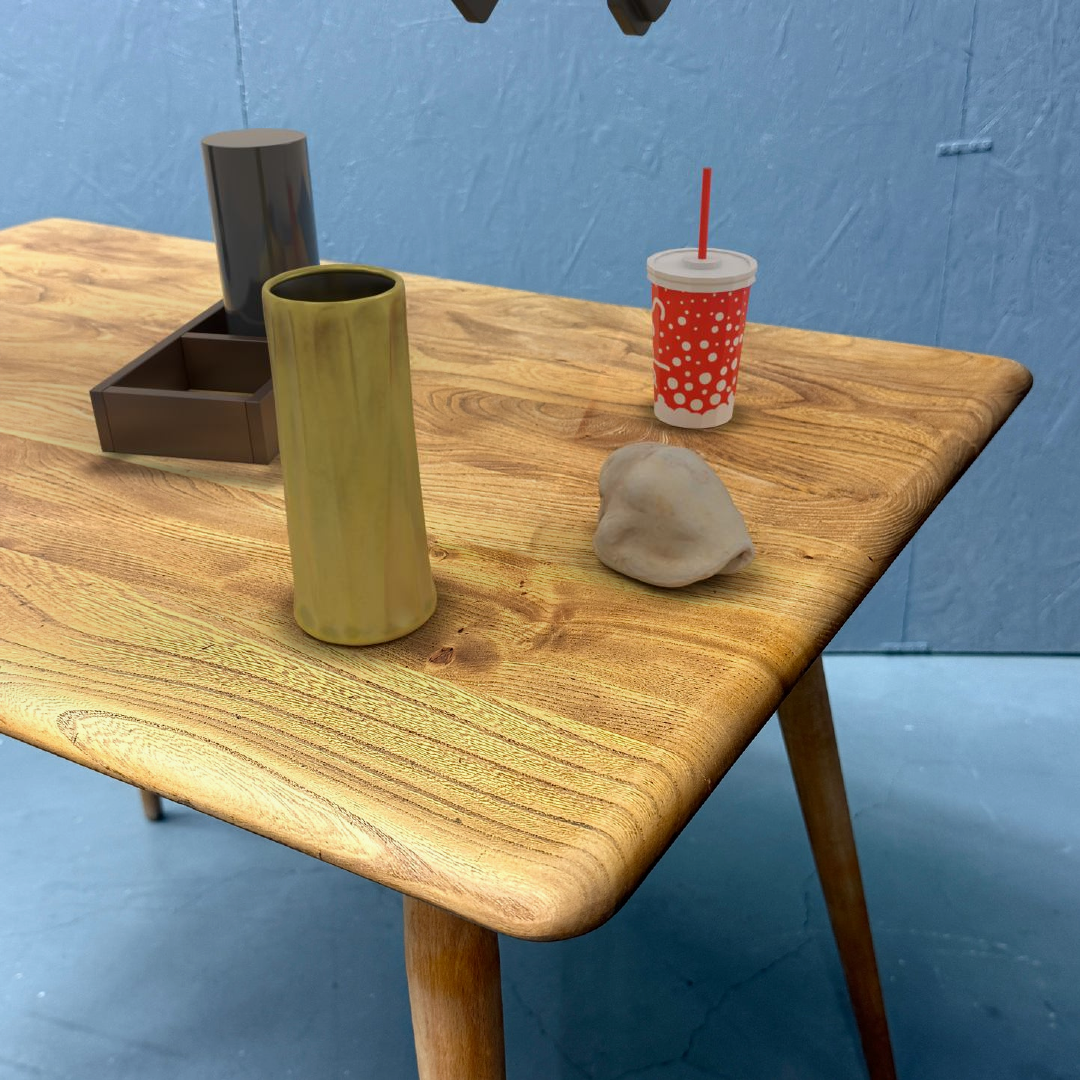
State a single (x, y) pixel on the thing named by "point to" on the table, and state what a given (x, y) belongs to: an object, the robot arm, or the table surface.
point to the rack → (193, 397)
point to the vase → (349, 452)
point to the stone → (667, 517)
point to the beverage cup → (698, 327)
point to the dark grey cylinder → (258, 215)
